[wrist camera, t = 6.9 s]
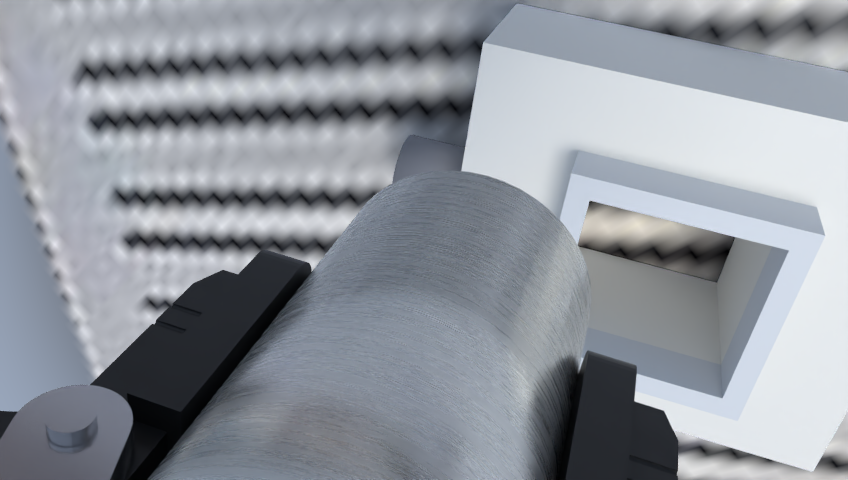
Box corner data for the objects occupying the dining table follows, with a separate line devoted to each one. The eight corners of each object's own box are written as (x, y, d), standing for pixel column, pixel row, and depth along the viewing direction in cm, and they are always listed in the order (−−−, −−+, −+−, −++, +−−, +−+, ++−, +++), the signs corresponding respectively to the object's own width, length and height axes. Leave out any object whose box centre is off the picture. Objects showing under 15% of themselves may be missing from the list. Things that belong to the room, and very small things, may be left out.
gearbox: (941, 91, 28) (1017, 181, 22) (796, 377, 36) (819, 510, 29) (445, -12, 32) (380, 39, 25) (406, 268, 39) (347, 365, 33)
